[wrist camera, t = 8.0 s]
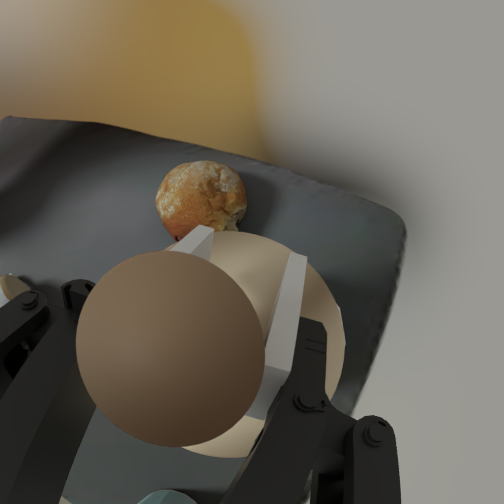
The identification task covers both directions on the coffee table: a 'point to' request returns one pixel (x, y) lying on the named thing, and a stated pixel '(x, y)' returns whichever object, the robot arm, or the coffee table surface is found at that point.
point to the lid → (193, 341)
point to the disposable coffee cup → (167, 498)
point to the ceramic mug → (10, 288)
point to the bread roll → (201, 198)
